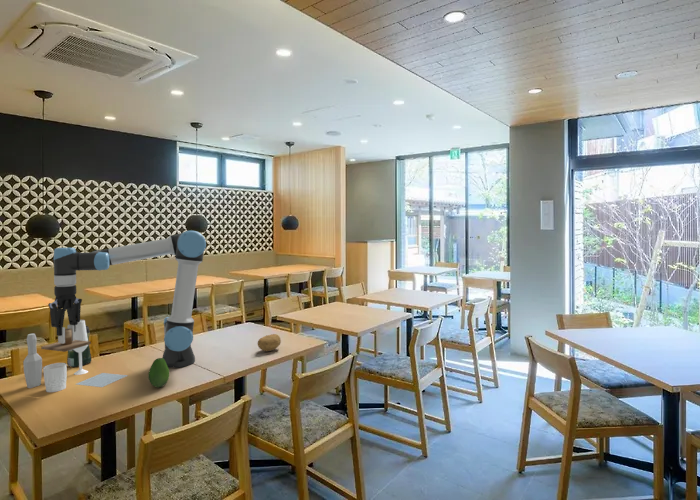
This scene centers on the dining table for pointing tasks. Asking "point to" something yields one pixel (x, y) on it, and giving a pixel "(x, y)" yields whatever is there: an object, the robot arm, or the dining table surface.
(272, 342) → the potato
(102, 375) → the mat
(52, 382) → the white cup
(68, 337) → the lid
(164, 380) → the avocado
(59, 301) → the robot arm
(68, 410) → the dining table surface
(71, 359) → the wine bottles
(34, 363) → the faceted bottle
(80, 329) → the champagne flute
